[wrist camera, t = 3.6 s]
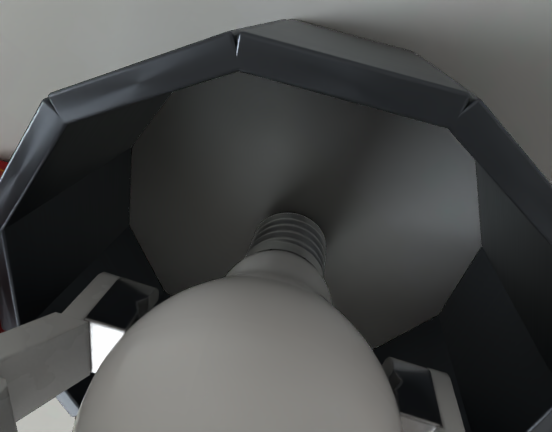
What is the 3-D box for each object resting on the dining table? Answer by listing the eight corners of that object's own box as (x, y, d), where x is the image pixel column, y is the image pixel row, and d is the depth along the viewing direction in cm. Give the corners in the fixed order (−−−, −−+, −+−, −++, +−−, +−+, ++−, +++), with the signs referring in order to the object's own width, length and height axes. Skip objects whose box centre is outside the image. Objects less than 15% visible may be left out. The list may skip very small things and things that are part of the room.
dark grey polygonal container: (596, 100, 11) (828, 189, 6) (400, 398, 18) (421, 558, 13) (118, -28, 11) (-81, -56, 6) (114, 312, 18) (22, 433, 13)
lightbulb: (280, 117, 12) (57, 482, 3) (415, 234, 14) (567, 760, 4) (182, 235, 15) (-85, 604, 6) (300, 322, 17) (236, 745, 7)
